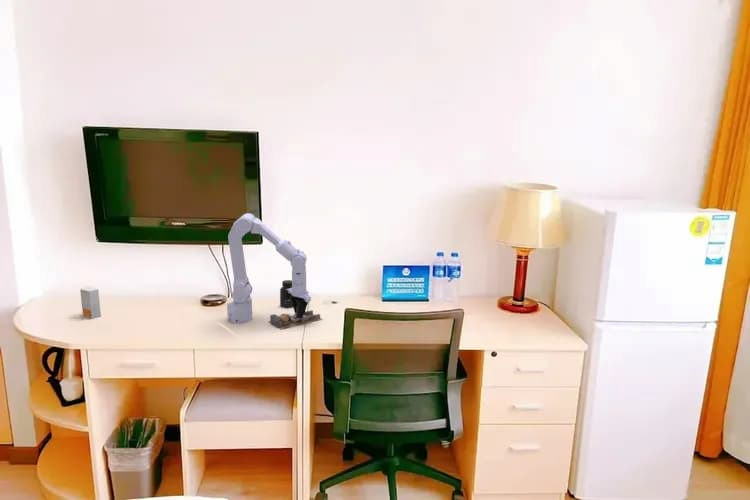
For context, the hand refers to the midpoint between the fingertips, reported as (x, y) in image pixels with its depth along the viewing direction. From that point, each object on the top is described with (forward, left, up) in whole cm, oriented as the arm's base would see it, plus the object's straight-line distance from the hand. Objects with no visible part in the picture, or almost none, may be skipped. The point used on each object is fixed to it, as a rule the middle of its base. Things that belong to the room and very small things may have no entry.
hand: (299, 314), depth 228 cm
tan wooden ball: (-7, 0, -2) cm, 8 cm away
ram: (-1, 0, -2) cm, 3 cm away
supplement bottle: (+5, +18, -4) cm, 19 cm away
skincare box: (-66, +55, -4) cm, 86 cm away
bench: (-2, 0, -3) cm, 4 cm away
